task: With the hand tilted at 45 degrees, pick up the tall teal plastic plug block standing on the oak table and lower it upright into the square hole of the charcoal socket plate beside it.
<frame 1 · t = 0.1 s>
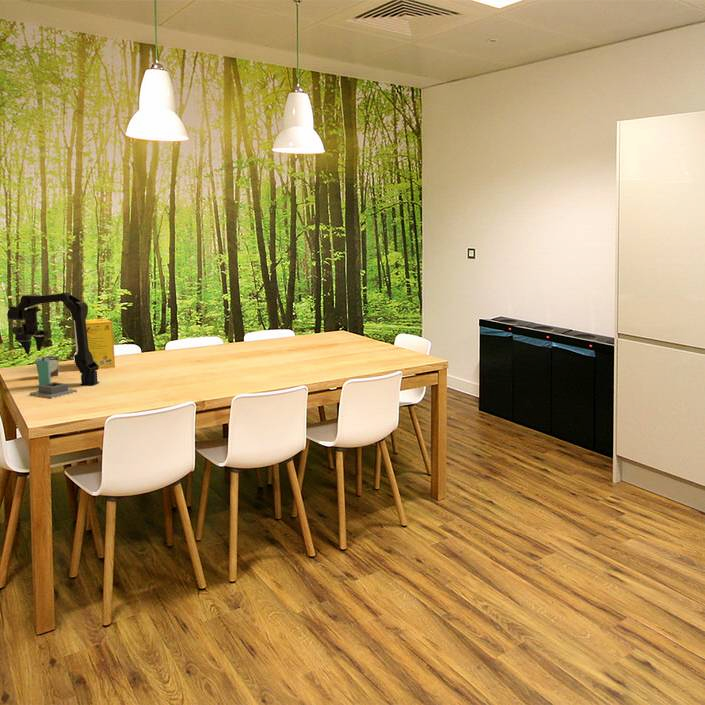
hand: (33, 352, 334), 15 cm above the table, tool pointing down, fingers open, 9 cm apart
socket: (53, 393, 315), on the table
food container: (46, 377, 349), on the table
packaging box: (95, 366, 375), on the table
plug: (45, 386, 329), on the table
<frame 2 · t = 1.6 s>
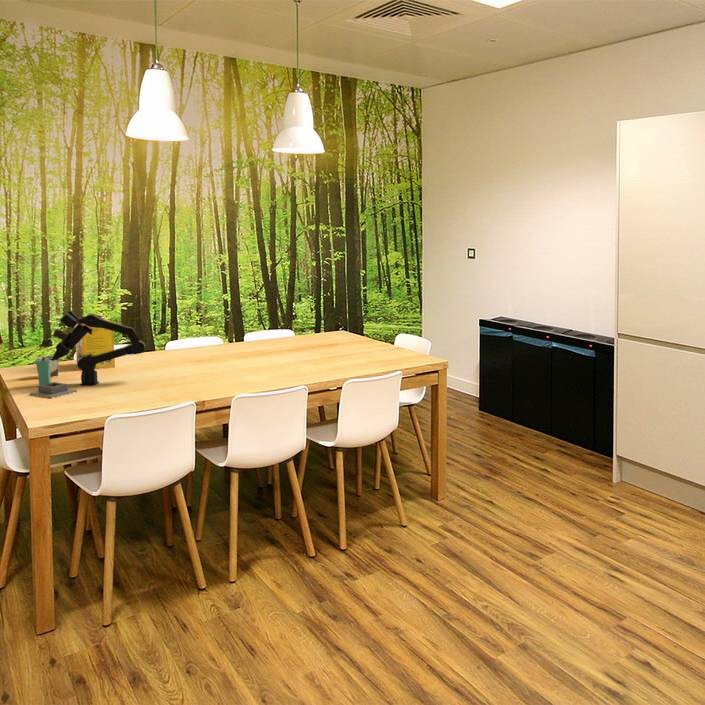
hand: (53, 358, 328), 13 cm above the table, tool tilted 45°, fingers open, 9 cm apart
nothing on the table moved.
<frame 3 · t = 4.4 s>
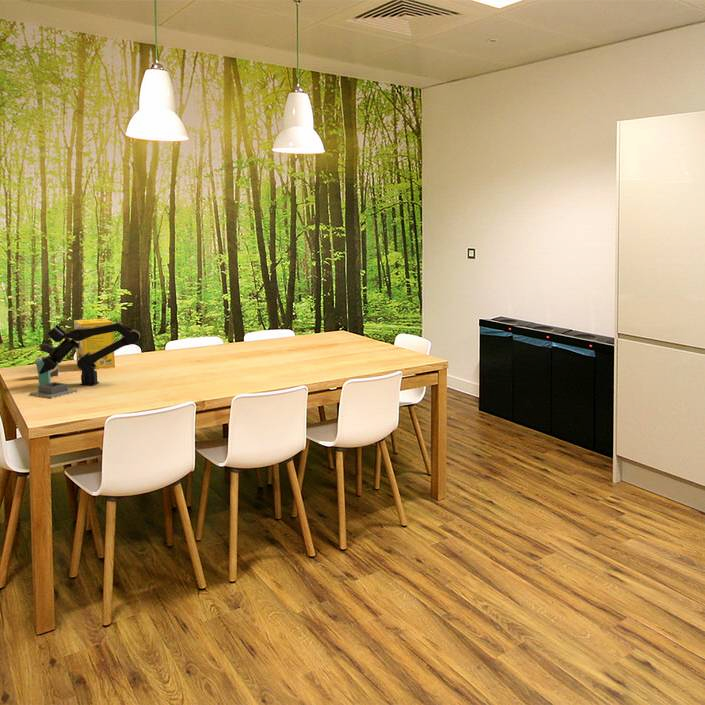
hand: (41, 372, 328), 7 cm above the table, tool tilted 45°, fingers closed on plug, 4 cm apart
plug: (45, 386, 329), on the table, touching gripper
everything else where it was.
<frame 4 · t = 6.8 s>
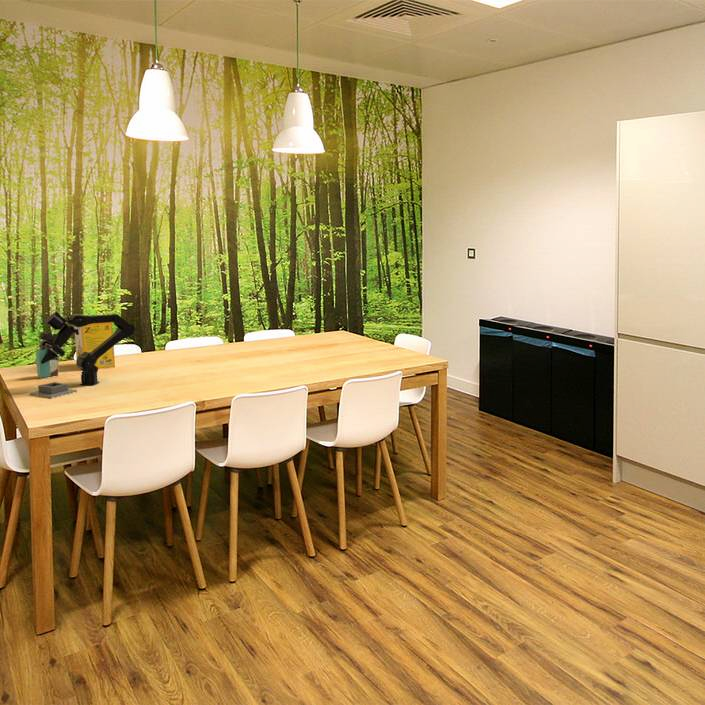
hand: (39, 362, 317), 14 cm above the table, tool tilted 45°, fingers closed on plug, 4 cm apart
plug: (44, 376, 319), point 7 cm above the table, touching gripper
everything else where it was.
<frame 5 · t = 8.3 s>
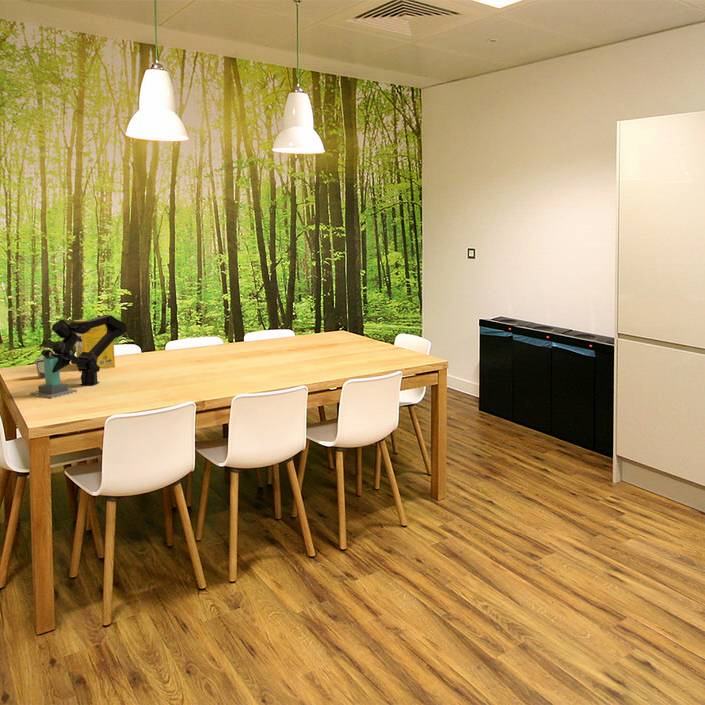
hand: (49, 371, 312), 10 cm above the table, tool tilted 45°, fingers closed on plug, 4 cm apart
plug: (53, 385, 314), point 4 cm above the table, touching gripper
everything else where it was.
when the fingers open (8 cm above the table, at t = 9.5 s): plug stays where it is, resting on socket.
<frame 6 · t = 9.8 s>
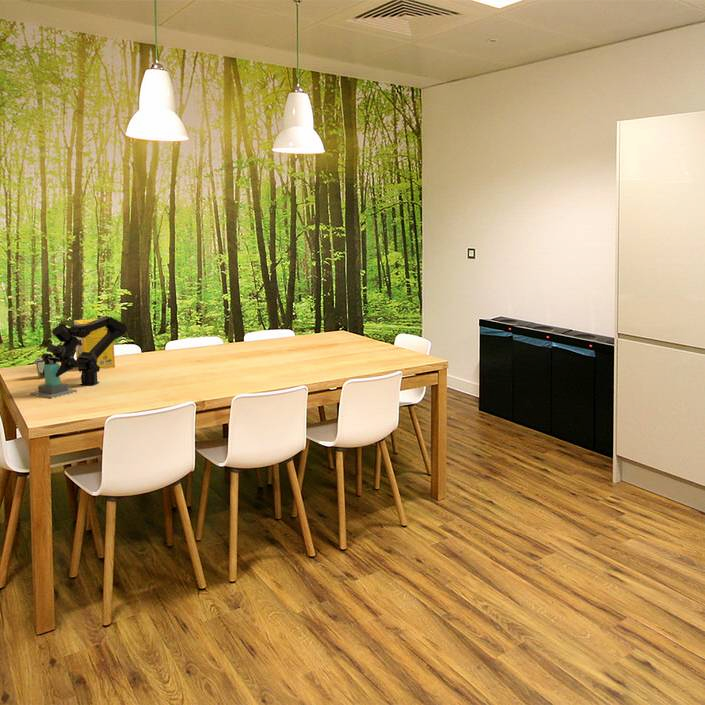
hand: (49, 375, 312), 9 cm above the table, tool tilted 45°, fingers open, 8 cm apart
plug: (53, 391, 315), point 1 cm above the table, touching socket
everything else where it was.
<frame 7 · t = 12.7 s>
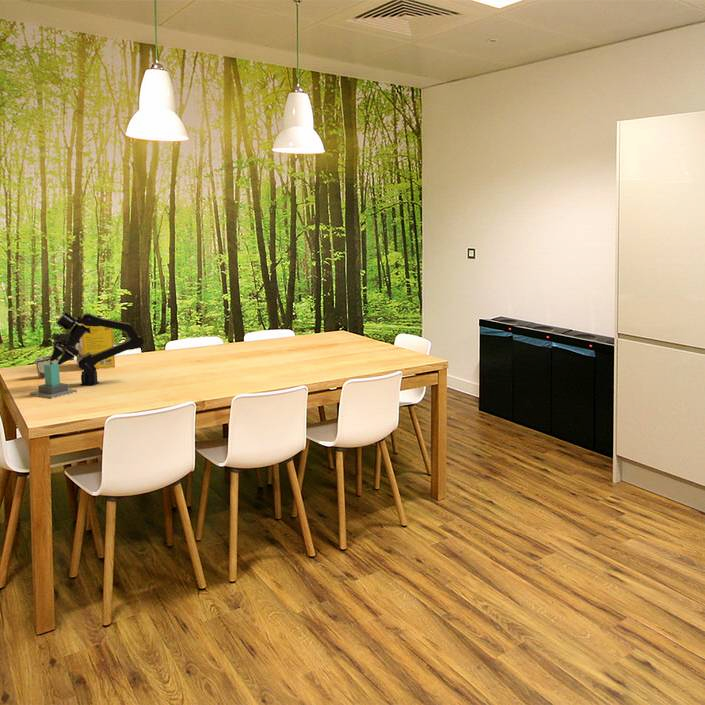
hand: (54, 362, 322), 12 cm above the table, tool tilted 40°, fingers open, 9 cm apart
nothing on the table moved.
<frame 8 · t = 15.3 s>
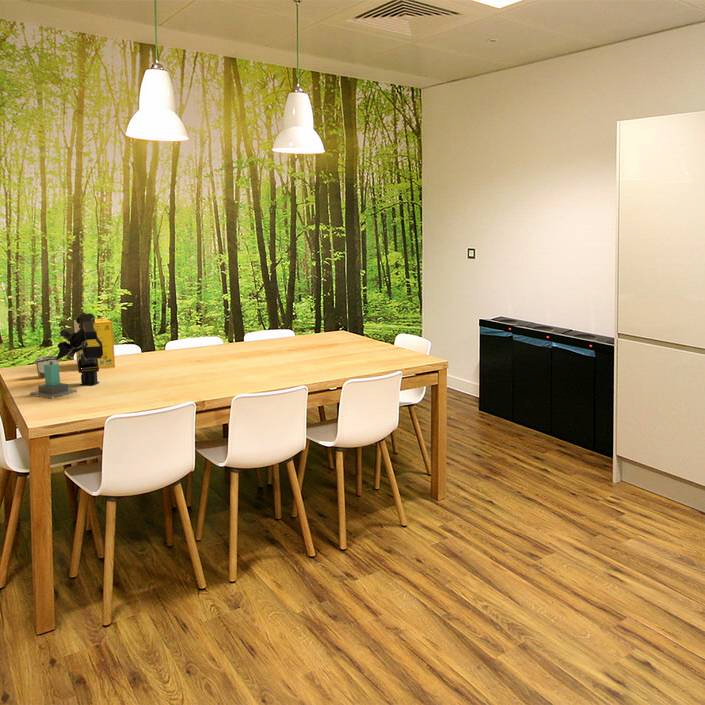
hand: (62, 356, 335), 13 cm above the table, tool tilted 45°, fingers open, 9 cm apart
nothing on the table moved.
at the end: plug 0.1 cm off-centre on the socket, point 1.0 cm above the socket's base; plug tilted 0°; the gripper is holding nothing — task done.
